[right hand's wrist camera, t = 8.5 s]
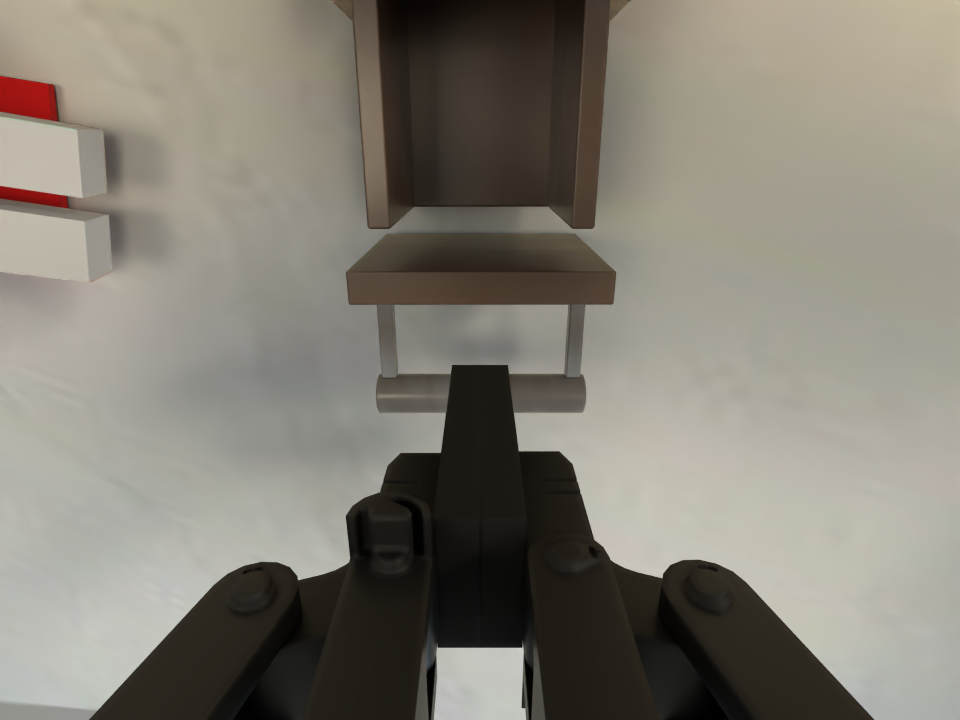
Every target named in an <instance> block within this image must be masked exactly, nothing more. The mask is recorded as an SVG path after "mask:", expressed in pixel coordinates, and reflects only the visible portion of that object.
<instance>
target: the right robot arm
mask: <svg viewBox="0 0 960 720" xmlns="http://www.w3.org/2000/svg"><path fill="white" fill-rule="evenodd" d="M346 522H347V532H348V541H349V550H350V561H349V563H348V564H347V565H345V566H343V567H341V568H339V569H337V570H335V571H332V572H329V573H326V574H323V575H319V576H315V577H311V578H306V579H302V580H298V579H297V575H296V574H295V573H294V572H293V571H292V569H291V568H290V567H288V566H285V565H283V564H280V563H277V562H259V563H255V564H250V565H246V566H243V567H241V568H239V569H237V570H235V571H233V572H231V573H228V574H227V575H226V576H224V577H223V578H222V579H221V580H220V581H218V582H217V583H216V584H215V585H214V586H213V587H212V588H211V589H210V590H209V591H208V592H207V593H206V594H205V595H204V596H203V597H202V599H201V600H200V601H199V602H198V603H197V604H196V605H195V606H194V607H193V608H192V609H191V610H190V611H189V613H188V614H187V615H186V616H185V617H184V618H183V619H182V620H181V621H180V622H179V623H178V624H177V625H176V627H175V628H174V629H173V630H172V631H171V632H170V633H169V634H168V635H167V636H166V637H165V638H164V640H163V641H162V642H161V643H160V644H159V645H158V646H157V647H156V648H155V649H154V650H153V651H152V652H151V654H150V655H149V656H148V657H147V658H146V659H145V660H144V661H143V662H142V663H141V664H140V665H139V667H138V668H137V669H136V670H135V671H134V672H133V673H132V674H131V675H130V676H129V677H128V678H127V679H126V681H125V682H124V683H123V684H122V685H121V686H120V687H119V688H118V689H117V690H116V691H115V692H114V694H113V695H112V696H111V697H110V698H109V699H108V700H107V701H106V702H105V703H104V704H103V705H102V706H101V708H100V709H99V710H98V711H97V712H96V713H95V714H94V715H93V716H92V717H91V718H90V719H89V720H434V709H435V696H436V683H437V663H436V650H437V645H438V648H522V645H523V648H524V663H523V688H522V708H526V720H874V719H873V718H872V717H871V716H870V715H869V714H868V713H867V711H866V710H865V709H864V708H863V707H862V706H861V705H860V704H859V703H858V702H857V701H856V700H855V699H854V697H853V696H852V695H851V694H850V693H849V692H848V691H847V690H846V689H845V688H844V687H843V686H842V685H841V684H840V682H839V681H838V680H837V679H836V678H835V677H834V676H833V675H832V674H831V673H830V672H829V671H828V670H827V669H826V667H825V666H824V665H823V664H822V663H821V662H820V661H819V660H818V659H817V658H816V657H815V656H814V655H813V654H812V652H811V651H810V650H809V649H808V648H807V647H806V646H805V645H804V644H803V643H802V642H801V641H800V640H799V639H798V637H797V636H796V635H795V634H794V633H793V632H792V631H791V630H790V629H789V628H788V627H787V626H786V625H785V623H784V622H783V621H782V620H781V619H780V618H779V617H778V616H777V615H776V614H775V613H774V612H773V611H772V610H771V608H770V607H769V606H768V605H767V604H766V603H765V602H764V601H763V600H762V599H761V598H760V597H759V596H758V595H757V593H756V592H755V591H754V590H753V589H752V588H751V587H750V586H749V585H748V584H747V583H746V582H745V581H744V580H742V579H741V578H740V577H739V576H738V575H736V574H735V573H734V572H732V571H730V570H728V569H726V568H724V567H722V566H720V565H718V564H715V563H711V562H706V561H702V560H682V561H680V562H677V563H675V564H672V565H670V566H669V568H668V569H667V570H666V571H665V572H664V573H663V579H662V578H658V577H654V576H650V575H646V574H642V573H638V572H635V571H631V570H628V569H625V568H623V567H621V566H619V565H618V564H616V563H614V562H612V561H611V560H610V558H609V556H608V554H607V553H606V551H605V549H604V547H602V546H601V545H600V544H599V543H597V542H596V541H595V540H594V537H593V534H592V530H591V527H590V524H589V520H588V517H587V513H586V510H585V506H584V503H583V499H582V496H581V494H580V489H579V485H578V482H577V478H576V475H575V471H574V468H573V465H572V463H571V462H570V461H569V460H568V459H567V458H566V457H565V456H564V455H562V454H561V453H560V452H559V451H518V443H517V435H516V427H515V419H514V411H513V403H512V395H511V387H510V379H509V371H508V365H452V371H451V379H450V387H449V395H448V403H447V411H446V419H445V427H444V435H443V443H442V450H441V453H400V454H399V455H398V456H397V457H396V458H395V459H394V460H393V461H392V462H391V463H390V464H389V465H388V467H387V470H386V474H385V477H384V482H383V484H382V488H381V491H380V493H377V494H374V495H371V496H368V497H366V498H363V499H362V500H361V501H359V502H358V503H356V504H355V505H353V506H352V508H351V509H350V511H349V512H348V514H347V515H346Z"/></svg>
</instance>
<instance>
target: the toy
mask: <svg viewBox="0 0 960 720" xmlns="http://www.w3.org/2000/svg"><path fill="white" fill-rule="evenodd" d="M105 193H107V179H106V163H105V147H104V131H103V130H102V129H97V128H91V127H85V126H79V125H74V124H68V123H62V122H58V118H57V109H56V101H55V92H54V85H52V84H46V83H40V82H33V81H27V80H21V79H15V78H9V77H3V76H0V272H5V273H14V274H22V275H30V276H38V277H46V278H54V279H62V280H70V281H78V282H86V283H90V282H92V281H94V280H96V279H98V278H100V277H102V276H104V275H106V274H109V273H111V272H112V257H111V241H110V226H109V214H102V213H95V212H88V211H81V210H75V209H68V205H67V197H66V196H71V197H78V198H86V197H91V196H95V195H100V194H105Z"/></svg>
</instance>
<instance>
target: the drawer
mask: <svg viewBox="0 0 960 720" xmlns="http://www.w3.org/2000/svg"><path fill="white" fill-rule="evenodd" d="M351 5H352V18H353V32H354V46H355V59H356V73H357V87H358V100H359V114H360V128H361V141H362V155H363V169H364V183H365V196H366V210H367V224H368V228H370V229H389V228H391V227H392V226H393V225H394V224H395V223H397V222H398V221H399V220H400V219H401V218H402V217H403V216H404V215H405V214H407V213H408V212H409V211H410V210H411V209H412V208H413V207H549V208H550V209H551V210H552V211H553V212H555V213H556V214H557V215H558V216H559V217H560V218H561V219H562V220H564V221H565V222H566V223H567V224H568V225H569V226H570V227H571V228H573V229H592V228H594V226H595V213H596V199H597V185H598V171H599V158H600V144H601V130H602V116H603V103H604V89H605V75H606V62H607V48H608V34H609V20H610V7H611V0H351ZM346 278H347V289H348V300H349V304H350V305H377V314H378V328H379V342H380V356H381V370H382V374H380V375H379V377H378V380H377V387H376V401H377V408H378V411H379V412H380V413H446V411H447V403H448V395H449V387H450V379H451V374H397V373H398V364H397V348H396V331H395V314H394V305H568V318H567V335H566V352H565V369H564V372H565V374H509V379H510V387H511V395H512V403H513V411H514V413H582V412H583V411H584V409H585V404H586V385H585V379H584V376H583V375H582V374H580V372H581V357H582V343H583V329H584V315H585V305H612V304H613V303H614V292H615V281H616V271H615V270H613V269H612V268H611V267H610V266H609V265H608V264H607V263H606V262H605V261H604V260H603V259H602V258H601V257H599V256H598V255H597V254H596V253H595V252H594V251H593V250H592V249H591V248H590V247H589V246H588V245H586V244H585V243H584V242H583V241H582V240H581V239H580V238H579V237H578V236H577V235H576V234H387V235H385V236H384V237H383V238H382V239H381V240H380V241H379V242H378V243H377V244H376V245H375V246H374V247H373V248H371V249H370V250H369V251H368V252H367V253H366V254H365V255H364V256H363V257H362V258H361V259H360V260H359V261H358V262H356V263H355V264H354V265H353V266H352V267H351V268H350V269H349V270H348V271H347V272H346Z"/></svg>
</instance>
